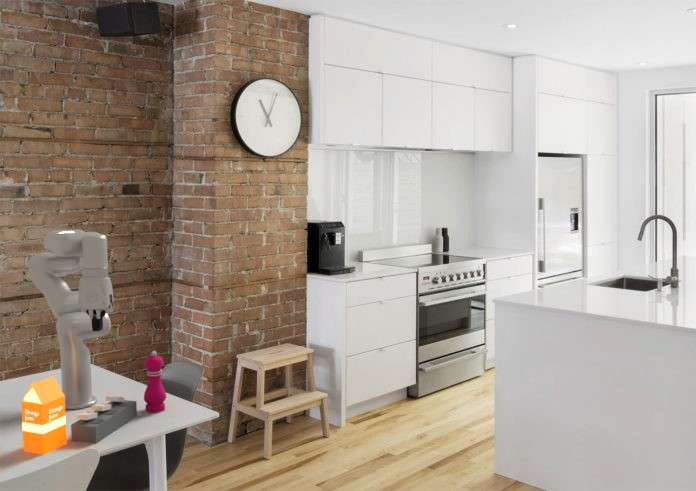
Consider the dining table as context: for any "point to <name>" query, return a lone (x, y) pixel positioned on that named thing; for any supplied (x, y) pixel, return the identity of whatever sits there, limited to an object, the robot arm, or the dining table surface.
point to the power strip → (104, 422)
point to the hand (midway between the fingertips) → (97, 330)
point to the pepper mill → (154, 384)
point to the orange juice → (43, 417)
